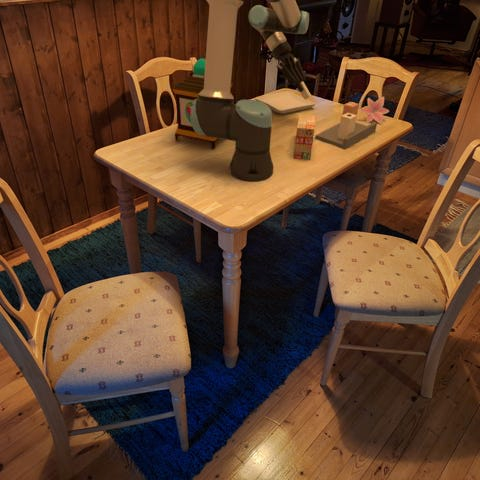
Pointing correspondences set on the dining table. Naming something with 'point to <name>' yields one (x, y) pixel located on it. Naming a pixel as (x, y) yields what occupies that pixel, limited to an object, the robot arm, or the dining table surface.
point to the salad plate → (285, 102)
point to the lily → (374, 110)
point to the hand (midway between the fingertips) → (307, 97)
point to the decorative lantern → (190, 102)
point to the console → (359, 134)
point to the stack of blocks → (304, 137)
